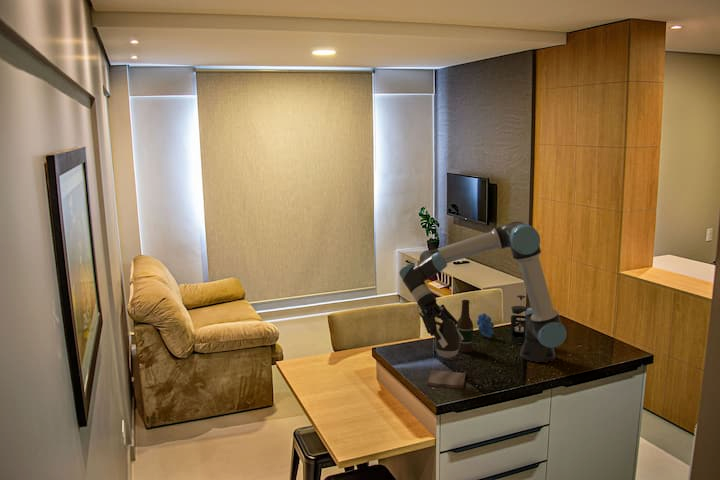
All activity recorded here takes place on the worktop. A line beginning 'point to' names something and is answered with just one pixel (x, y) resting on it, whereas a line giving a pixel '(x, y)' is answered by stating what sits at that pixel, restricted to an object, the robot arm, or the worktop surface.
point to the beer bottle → (465, 328)
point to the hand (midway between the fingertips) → (453, 343)
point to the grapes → (485, 325)
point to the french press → (517, 330)
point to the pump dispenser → (448, 339)
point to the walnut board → (446, 379)
